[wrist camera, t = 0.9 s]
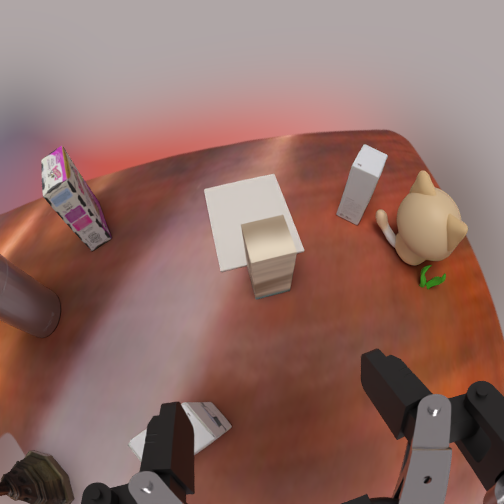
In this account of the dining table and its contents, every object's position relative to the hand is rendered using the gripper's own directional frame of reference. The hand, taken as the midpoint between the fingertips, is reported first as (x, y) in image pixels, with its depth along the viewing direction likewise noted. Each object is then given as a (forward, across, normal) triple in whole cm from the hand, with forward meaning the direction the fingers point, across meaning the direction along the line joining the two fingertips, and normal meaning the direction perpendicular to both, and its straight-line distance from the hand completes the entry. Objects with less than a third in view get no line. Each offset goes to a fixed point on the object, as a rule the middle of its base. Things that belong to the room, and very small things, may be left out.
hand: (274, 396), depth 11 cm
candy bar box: (+43, +25, -6) cm, 50 cm away
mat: (+38, -4, -1) cm, 38 cm away
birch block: (+30, -4, +7) cm, 31 cm away
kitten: (+29, -28, +9) cm, 41 cm away
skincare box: (+36, -22, +2) cm, 42 cm away
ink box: (+17, +11, +21) cm, 29 cm away
